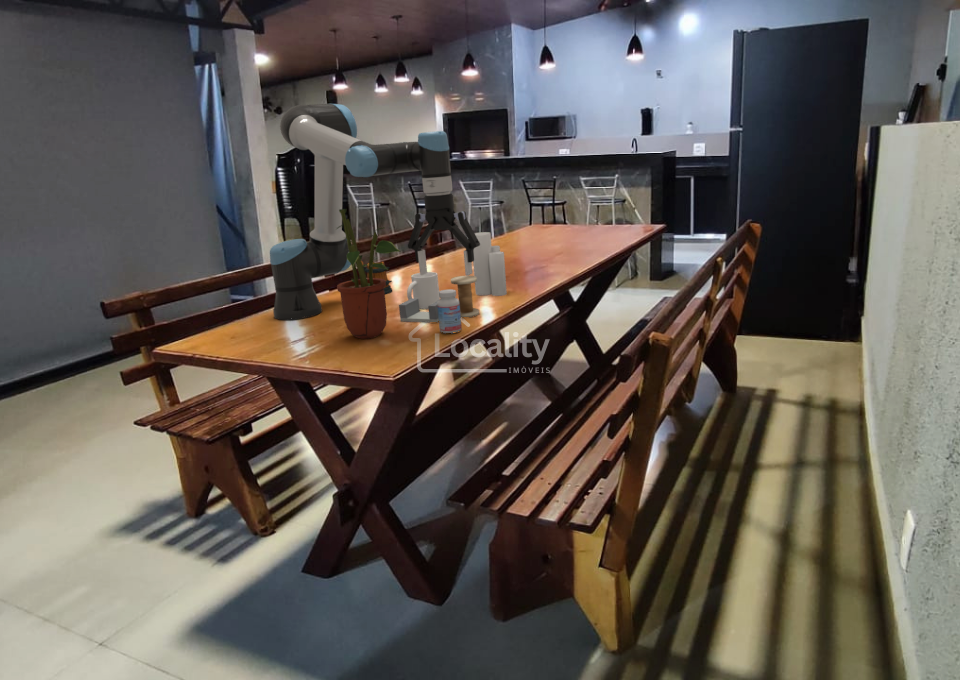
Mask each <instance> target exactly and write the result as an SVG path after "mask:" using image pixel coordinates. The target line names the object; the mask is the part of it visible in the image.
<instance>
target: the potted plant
mask: <svg viewBox="0 0 960 680" xmlns="http://www.w3.org/2000/svg"><path fill="white" fill-rule="evenodd" d="M339 212H340V213H341V216H342V225H341V226H342V227H343V229H344V233H345V234H346V239H347V244H348V249H349V252H348V254H347V260H348V261H349V262H350V263H351V265H350V266H351V269H352V275H353V278H351V280H347V281H343V282H340V283H338V284H337V285H336V289H337V291H338V293H339V294H340V299H341V308H342V312H343V313H342V314H343V320H344V322H345V325H346V328H347V330H348V332H350V334H351V335H352V336H354V337H355V338H358V339H361V340H362V339H363V340H368V339H374V338H376V337H378V336H380V335H381V334H382V333H383V332H384V330H385V327H386V326H387V318H388V317H387V316H388V311H387V303H386V295H385V292H384V287H385V286H386V281H385V280H384V279H379V278H373V276H372V272H373V267H377V268H382V269H386V271H389V269H387V268H386V267H387V266H386V265H385V264H384V265H383V264H379V263H380V262H375V264H373V262H374V256H375V255H374V254H375V253H378V254H389V253H394V252H396V253H397V252H398V253H400V252H401V250H400V249H398V248H397V247H396V245H395V244H394V243H393V242H392V241H388V240H383V239H382V240H380V241H379V242H378V243H377V241H378V239H379V236H378V233H377V232H376V231H379V230H382V229H383V230H384V227H380V228H379V227H378V228H377V229H376V231H374V233H373V235H372V234H371V235H370V236H371V237H372V238H371V243H370V252H369V260H368V263H369V278H367V273H366V272H365V271H364V268H363V267H367V264H366V263H365V264H364V265H362V262H363V261H362V259H363V255H362V254H360V253H361V252H360V251H359V250H358V245H357V240H356V237H355V234H354V230H353V227H352V224H351V222H350V219H349V218H347V217H346V216H347V215H346V213H347V208H342V209H339ZM341 226H339V227H341ZM339 227H338V228H339ZM338 228H337V229H338ZM344 238H345V237H344ZM344 251H345V250H344ZM361 261H362V262H361ZM357 271H358V272H357ZM358 274H359V277H358Z"/></svg>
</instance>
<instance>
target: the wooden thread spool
mask: <svg viewBox="0 0 960 680" xmlns="http://www.w3.org/2000/svg"><path fill="white" fill-rule="evenodd" d="M476 281H477V277H476V276H474V275H460V276H455V277H451V279H450V283H451V284H452V285H457V294H458V300H459V304H460V316H461V317H469V318H473V316H474V317H477V316H479V315H480V309H479V308H476V307H475V308H474V306H473V305H474V304H473V293H472V284H475V282H476Z"/></svg>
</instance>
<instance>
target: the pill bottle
mask: <svg viewBox="0 0 960 680" xmlns="http://www.w3.org/2000/svg"><path fill="white" fill-rule="evenodd" d="M439 297H440V300H439V301H438V303H437V306H438V318H439V322H438V327H439V328H438V330H439V332H440V333H442V332H443V333H442V334H446V333H451V334H454V333H453V332H457V333H459V332H461V331H462V318H461V316H460V304H459V298H456V297H457V291H456V290H455V289H442V290H439ZM460 330H461V331H460ZM458 331H459V332H458Z"/></svg>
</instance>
